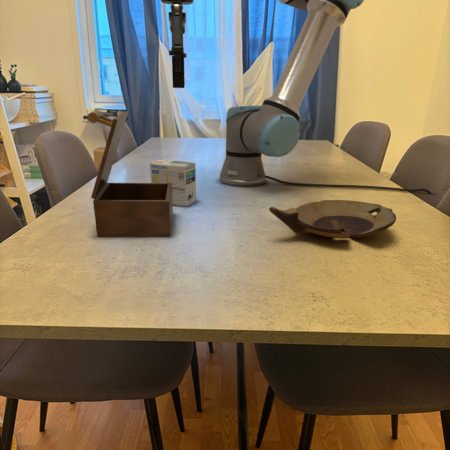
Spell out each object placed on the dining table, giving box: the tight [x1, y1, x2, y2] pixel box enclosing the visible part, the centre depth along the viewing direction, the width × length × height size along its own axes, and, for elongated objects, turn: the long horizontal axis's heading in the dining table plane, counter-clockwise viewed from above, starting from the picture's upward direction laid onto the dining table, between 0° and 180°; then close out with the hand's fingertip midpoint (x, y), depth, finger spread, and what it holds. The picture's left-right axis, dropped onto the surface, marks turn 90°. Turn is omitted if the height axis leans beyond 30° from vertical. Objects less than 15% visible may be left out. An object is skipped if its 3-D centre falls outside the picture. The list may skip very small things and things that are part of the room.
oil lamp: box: [268, 199, 397, 239], centre depth 98 cm, size 22×30×8 cm
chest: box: [92, 182, 174, 238], centre depth 100 cm, size 16×17×8 cm
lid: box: [87, 109, 129, 200], centre depth 93 cm, size 17×17×6 cm
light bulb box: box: [149, 159, 197, 207], centre depth 117 cm, size 11×7×11 cm, turn 71°
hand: (179, 87), depth 107 cm, fingers open, 13 cm apart
